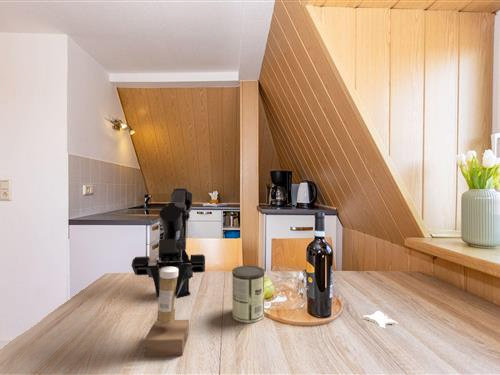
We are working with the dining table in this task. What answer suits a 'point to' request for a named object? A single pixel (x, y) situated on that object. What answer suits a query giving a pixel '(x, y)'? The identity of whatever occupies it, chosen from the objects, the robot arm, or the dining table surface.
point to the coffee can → (248, 293)
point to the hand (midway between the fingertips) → (167, 296)
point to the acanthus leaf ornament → (379, 319)
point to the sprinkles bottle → (167, 295)
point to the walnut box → (166, 339)
